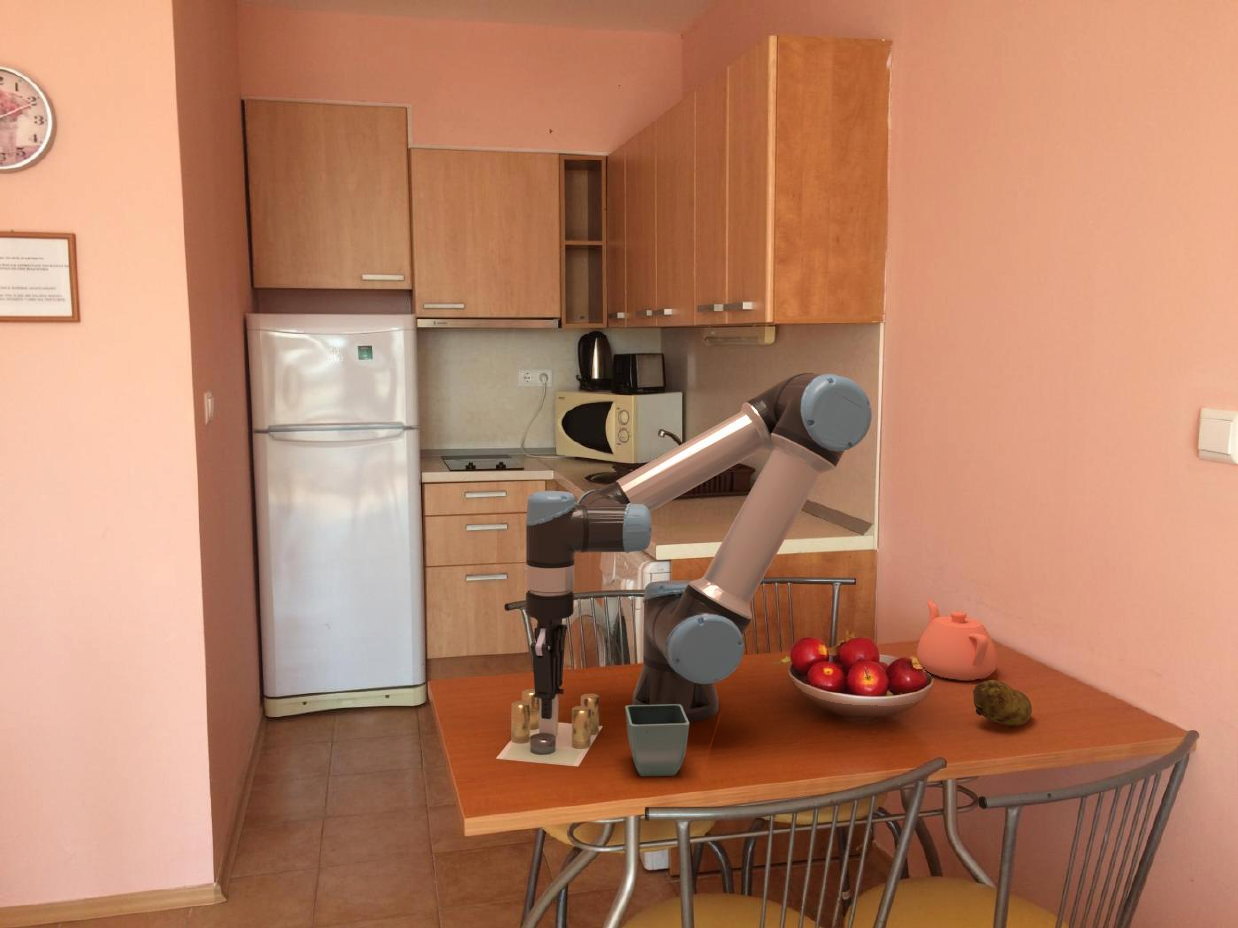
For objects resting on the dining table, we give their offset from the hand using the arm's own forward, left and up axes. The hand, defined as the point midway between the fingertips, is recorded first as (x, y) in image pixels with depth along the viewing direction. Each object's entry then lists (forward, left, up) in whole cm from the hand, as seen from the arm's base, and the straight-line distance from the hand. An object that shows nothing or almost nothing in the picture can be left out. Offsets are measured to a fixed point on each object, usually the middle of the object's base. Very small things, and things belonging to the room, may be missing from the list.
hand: (548, 735), depth 164 cm
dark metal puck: (0, +3, -1) cm, 3 cm away
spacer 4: (-5, -1, -1) cm, 5 cm away
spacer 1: (+5, -1, -1) cm, 5 cm away
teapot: (-68, -57, -2) cm, 89 cm away
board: (0, -1, -2) cm, 2 cm away
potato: (-73, -28, -2) cm, 78 cm away
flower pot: (-18, +5, -2) cm, 19 cm away
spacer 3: (-5, -7, -1) cm, 9 cm away
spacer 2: (+5, -7, -1) cm, 8 cm away
